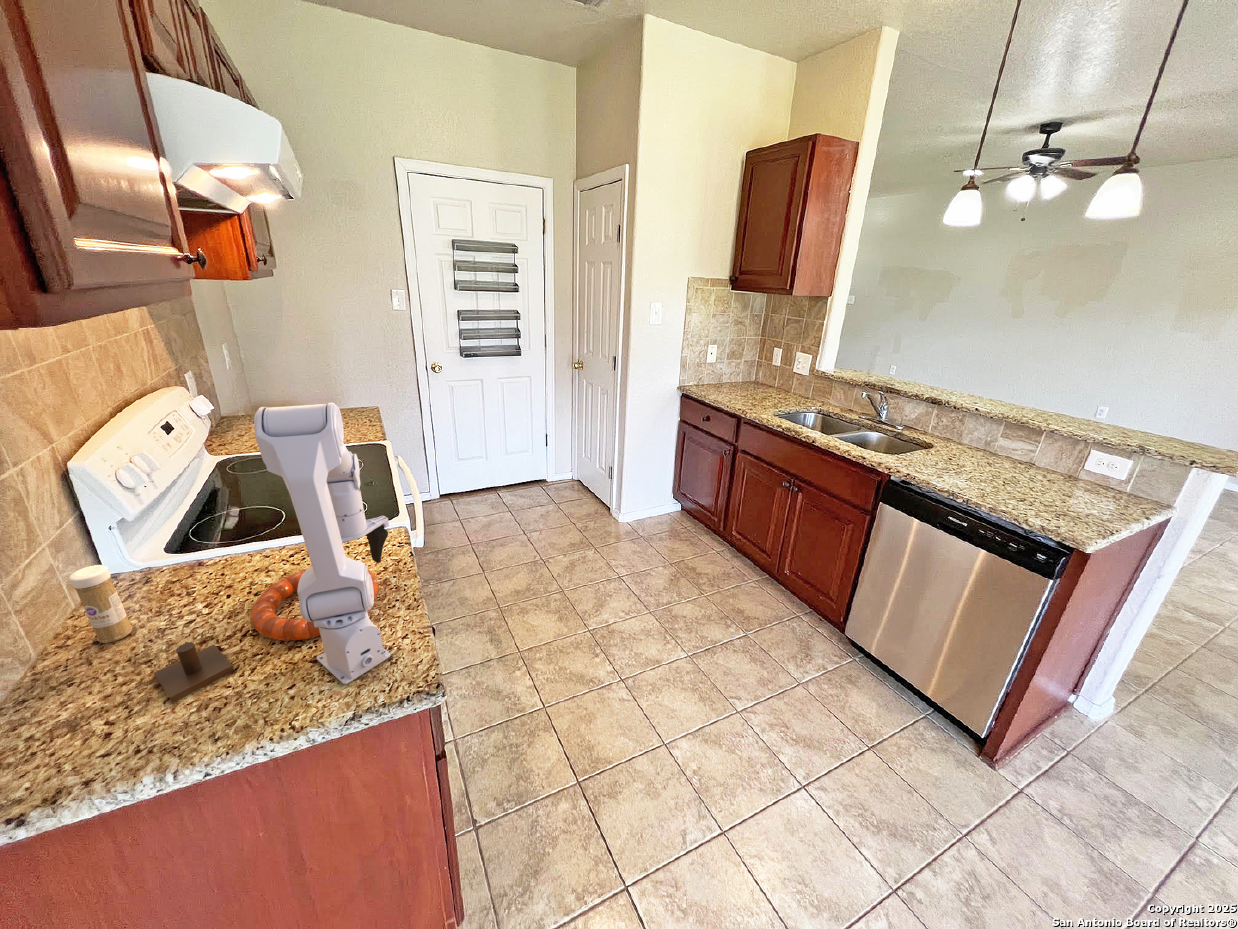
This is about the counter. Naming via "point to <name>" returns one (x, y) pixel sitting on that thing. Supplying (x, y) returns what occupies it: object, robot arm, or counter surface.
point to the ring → (282, 627)
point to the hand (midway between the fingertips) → (359, 569)
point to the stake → (192, 670)
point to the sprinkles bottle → (101, 603)
